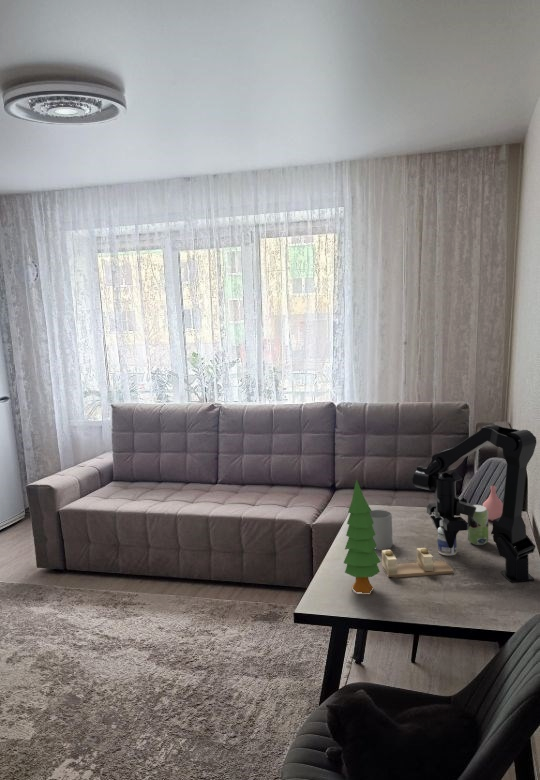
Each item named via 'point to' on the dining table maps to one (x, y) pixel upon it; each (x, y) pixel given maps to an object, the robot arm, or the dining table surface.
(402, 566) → the wooden cradle stand
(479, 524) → the beverage can
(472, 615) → the dining table surface
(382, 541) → the cup
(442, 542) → the pill bottle
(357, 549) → the decorative tree
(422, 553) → the jaw
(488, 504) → the perfume bottle
